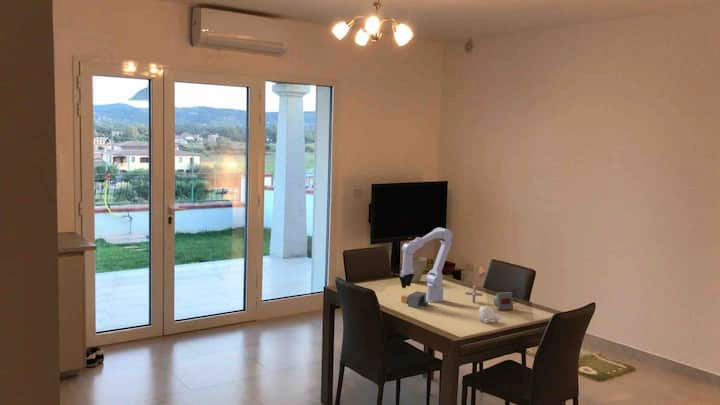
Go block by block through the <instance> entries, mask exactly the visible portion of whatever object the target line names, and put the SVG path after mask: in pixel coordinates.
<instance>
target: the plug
mask: <svg viewBox="0 0 720 405" xmlns="http://www.w3.org/2000/svg"><path fill="white" fill-rule="evenodd" d="M409 295H410V294H403V295H400V296H401V297H400V302H401V303H402V304H403V303H404V304H408V297H409ZM428 306H429V301H426V302H425V301H420V307H424V308H427V307H428Z"/></svg>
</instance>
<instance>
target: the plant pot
mask: <svg viewBox="0 0 720 405" xmlns="http://www.w3.org/2000/svg"><path fill="white" fill-rule="evenodd" d="M426 261H427V259H426V258H424V257H421V256H420V257H419V256H413V262H412V270H413V273H412V274H414V277H413V279H412V281H411V284H412V283H413V284H417V283H420V281H421V278H422V275H423V273H424V270H425V266H426Z"/></svg>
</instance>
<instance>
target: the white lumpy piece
mask: <svg viewBox="0 0 720 405" xmlns="http://www.w3.org/2000/svg"><path fill="white" fill-rule="evenodd" d="M478 317H479V320H480V321H481V322H483V323H484V324H485V323H486V324H488V322H489V321H494V322H495V323H496V322H497V323H498V322H499V320H501V315H500V314H499V313H496V312H494V310H493V309H492V308H491V307H489V306H485V305H484V306H483V305H482V306H480V307H479V310H478ZM486 324H485V325H486Z"/></svg>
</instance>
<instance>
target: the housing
mask: <svg viewBox="0 0 720 405" xmlns="http://www.w3.org/2000/svg"><path fill="white" fill-rule="evenodd" d="M408 295H409V297H408V303H407V307H411V308H416V309H418V308H420V307H421V306H420V301H425V302H427V300H426V298H427V292H424V291H418V290H416V291H414V292H412V293H409V294H408Z"/></svg>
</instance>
